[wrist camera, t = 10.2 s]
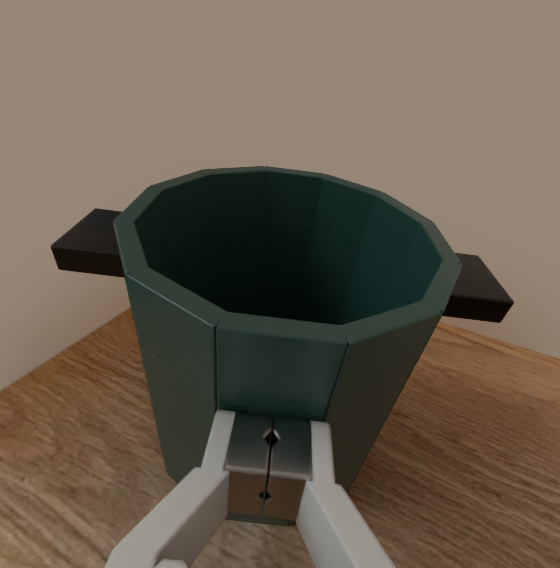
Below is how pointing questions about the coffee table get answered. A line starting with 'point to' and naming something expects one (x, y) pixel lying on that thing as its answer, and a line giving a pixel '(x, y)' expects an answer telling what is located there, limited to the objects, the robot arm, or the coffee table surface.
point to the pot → (278, 302)
